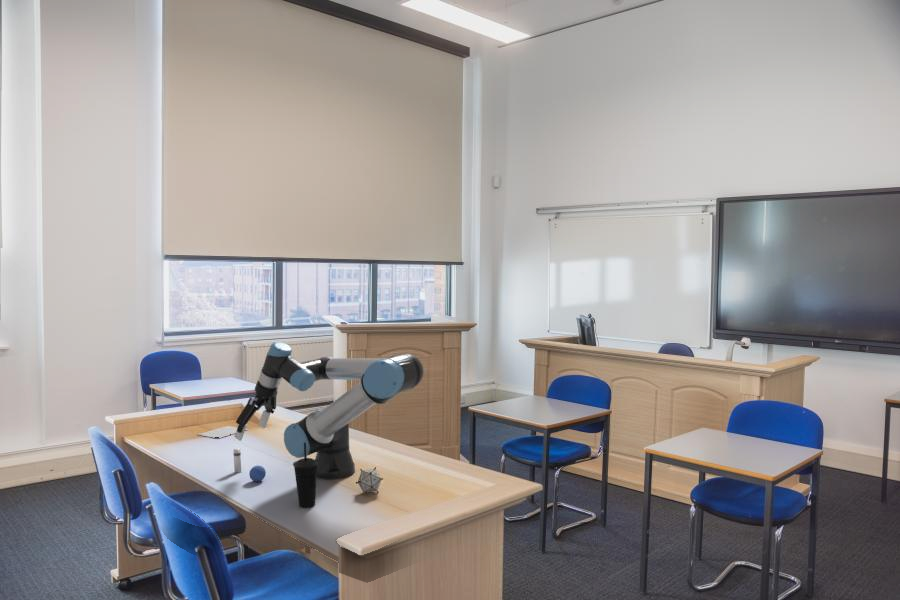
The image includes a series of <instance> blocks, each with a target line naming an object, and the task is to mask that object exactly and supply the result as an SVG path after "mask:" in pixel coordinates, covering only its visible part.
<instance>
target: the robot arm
mask: <svg viewBox="0 0 900 600" xmlns="http://www.w3.org/2000/svg"><path fill="white" fill-rule="evenodd" d="M292 352H293V349H292V347H291V346H290V345H289V344H287V343H285V342H281V341H280V342H279V341H277V342H272V344H271V345H270V346H269V349H268V351H267V353H266V356H265V359H264V363H263V366H262V368H261V370H260V374H259V376H258V379H257V382H256V384H255V386H254V391H255V393H256V394H255V396H254V398H252V397H249V399H248V401H247V403H246V405H245V407H243V410H242V411H241V413H240V414H239V416H238V417H237V419H236V420H235V423H236V424H237V425H238V426H237V431H236V433H235V434H234V436H233V438H234V439H236V440H238V441H240V442H241V441H242V439H243V437H244V434H245V432H246V430H245V429H247V427H248V422H249V421H250V420H251V419H252V417H253V416H254V415H255V413H256V412H257V411H259V410H260V409H261V408H262V407H263V406H264V409H263V410H262V413H261V416H260V419H259V422H258V423H257V425H258V426H259V427H261V428H262V429H265V428H266V427H267V423H268V420H269V418H270V416H271V414H272V415H273V414H274V413H275V410H276V409H277V395H278V389H279V387H280V384H281V381H282V379H283V380H284V381H286V382H287V383H288V384H290V385H291V386H292V388H295V389H297V390H298V391H300V392H305V391H308V390H309V389H311V387H312V386H313V385H314V383H315V382H317V381H321V380H323V381H324V380H330V381H331V380H336V381H337V380H342V381H343V380H344V381H345V380H346V381H347V380H349V381H359V382H358V383H357V384H355V385H354V386H353V387H351V388H350V389H349V390H347V392H345V393H343V394H342V395H341V396H339V397H338V398H337V399H335V400H334V401H333V402H331V403H330V404H329V405H327V406H326V407H324V408H320V409H316V410H315V411H313V412H312V411H311V413H309V414H307V416H304V417H303V418H302V419H301V420H299V421H297V422H294V423H291V424H290V425H288V426H287V427H286V428H285V429H284V433H283V443H284V446H285V448H286V451H288V453H289V454H290V455H291V456H292V457H295V458H297V459H298V458H299V459H303V458H304V443H305V442H306V456H307V457H308V456H310V455H313V454H315V453H316V454H315V458H314V460H317V461H318V464H317V477H316V479H320V480H337V479H343V478H347V477H350V476H351V475H353V474H355V472H356V465H355V463H354V460H353V456H352V453H351V451H350V426H349V425H350V423H351V422H352V421H353V420H355V419H356V418H358V417H359V416H360V415H362V414H364V413H365V412H366V411H368V410H369V409H371V408H372V407H374V406H375V405H376V404H377V405H385V404H386V403H387V402H388V401H390V400H391V399H392V398H394V397H395V396H397V395H399V394H401V393H403V392H406V391H409V390H412V389H414V388H415V387H417V386H418V385H419V384H420V383H421V381H422V380H423V377H424V366H423V363H422V362H421V360H420V359H419V358H418V357H417V356H415V355H413V354H411V353H402V354H394V355H393V354H391V355H390V356H388V357H384V358H383V357H382V358H381V357H380V358H379V357H378V358H377V357H375V358H374V357H373V358H372V357H371V358H370V357H367V358H359V357H357V358H356V357H355V358H351V357H350V358H349V357H347V358H344V357H343V358H341V357H339V358H338V357H337V358H336V357H335V358H334V357H332V356H323V357H320V358H317V359H313V360H312V359H311V360H307V361H303V362H299V361H298V360H296V359H295V357H294V358H293V356H292Z"/></svg>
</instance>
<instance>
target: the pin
mask: <svg viewBox="0 0 900 600" xmlns="http://www.w3.org/2000/svg"><path fill="white" fill-rule="evenodd" d="M241 455H242V452H241V448H240V447H237V448H236V447H235V448H234V449H233V468H234V469H233V471H234V473H235V472H236V473H235V474H238V473H239V472H240V473H242V456H241Z"/></svg>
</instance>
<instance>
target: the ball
mask: <svg viewBox="0 0 900 600" xmlns="http://www.w3.org/2000/svg"><path fill="white" fill-rule="evenodd" d="M266 474H267V472H266V469H265V467H263V466H262V465H253V467H252V468H251V469H250V470H249V478H250V480H252V482H256V483H258V482H262V481H263V480H264V479H265V477H266Z"/></svg>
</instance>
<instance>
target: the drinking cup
mask: <svg viewBox="0 0 900 600" xmlns="http://www.w3.org/2000/svg"><path fill="white" fill-rule="evenodd" d="M317 464H318V461H317V460H315V458H310V457H308V456H306V442H305V443H304V457H302V458H299V459H298V460H296V461H295V462H293V464H292V465H293V468H294V475H295V482H296V489H297V491H296V492H297V497H298V499H297V500H298V504H299V508H301V509H311V508H312V507H313V508H314V506H315V505H316V491H317Z"/></svg>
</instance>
